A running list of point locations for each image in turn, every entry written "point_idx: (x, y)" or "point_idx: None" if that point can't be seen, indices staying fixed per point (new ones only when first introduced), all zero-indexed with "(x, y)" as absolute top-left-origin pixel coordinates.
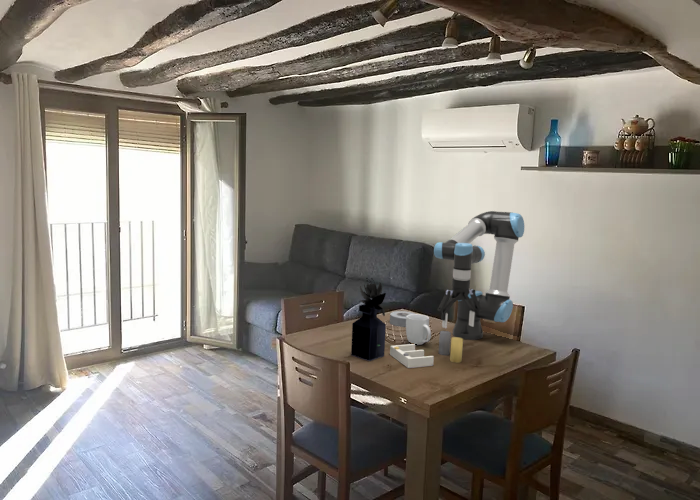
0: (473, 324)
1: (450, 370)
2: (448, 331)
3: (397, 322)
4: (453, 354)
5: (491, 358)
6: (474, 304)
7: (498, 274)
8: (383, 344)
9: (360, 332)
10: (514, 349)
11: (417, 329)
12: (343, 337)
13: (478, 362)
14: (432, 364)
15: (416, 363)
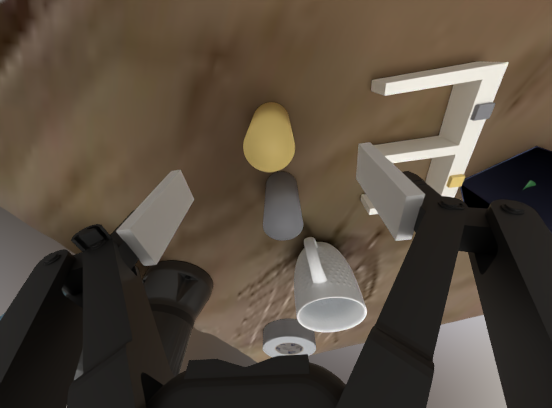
0: (167, 177)
1: (337, 11)
2: (266, 233)
3: (308, 329)
4: (286, 116)
5: (143, 132)
6: (79, 311)
7: None
8: (495, 197)
9: None
10: (65, 198)
11: (340, 270)
12: (451, 286)
13: (197, 97)
14: (377, 80)
15: (452, 68)
